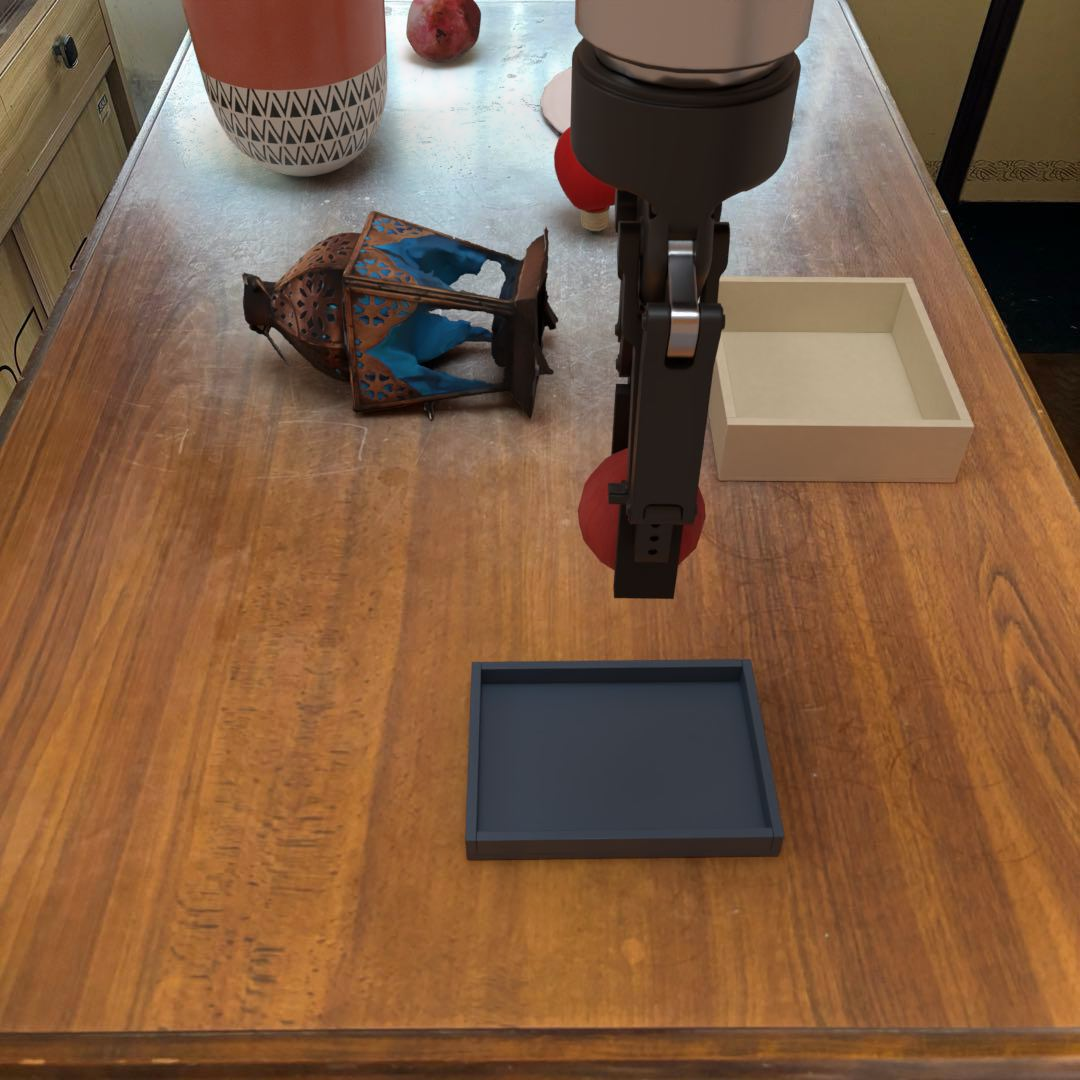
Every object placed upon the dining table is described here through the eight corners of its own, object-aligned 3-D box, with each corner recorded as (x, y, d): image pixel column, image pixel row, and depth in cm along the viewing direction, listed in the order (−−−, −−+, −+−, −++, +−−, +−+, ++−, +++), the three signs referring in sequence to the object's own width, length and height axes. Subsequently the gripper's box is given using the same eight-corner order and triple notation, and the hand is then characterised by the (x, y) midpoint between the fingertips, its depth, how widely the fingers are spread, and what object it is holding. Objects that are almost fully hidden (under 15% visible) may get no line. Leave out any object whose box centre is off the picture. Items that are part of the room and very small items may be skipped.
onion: (679, 520, 56) (695, 395, 50) (710, 604, 52) (731, 478, 46) (566, 534, 55) (570, 408, 50) (589, 620, 51) (596, 494, 46)
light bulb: (535, 225, 109) (535, 127, 102) (586, 201, 112) (589, 105, 105) (602, 262, 104) (607, 162, 97) (653, 236, 107) (661, 137, 100)
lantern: (549, 431, 96) (263, 410, 96) (563, 243, 95) (273, 221, 95) (552, 427, 80) (207, 402, 80) (568, 199, 79) (218, 173, 78)
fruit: (494, 49, 140) (492, -36, 132) (460, 77, 133) (456, -10, 126) (431, 37, 142) (425, -46, 135) (394, 65, 136) (386, -22, 129)
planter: (180, 188, 114) (125, -34, 99) (277, 111, 127) (241, -96, 111) (348, 223, 109) (317, -6, 94) (431, 139, 122) (416, -74, 107)
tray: (746, 679, 69) (751, 658, 68) (779, 856, 61) (785, 836, 59) (473, 682, 69) (471, 661, 68) (466, 860, 61) (464, 840, 59)
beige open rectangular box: (954, 482, 82) (974, 426, 78) (718, 480, 82) (727, 424, 79) (897, 331, 96) (912, 277, 92) (695, 329, 96) (702, 275, 92)
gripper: (570, -56, 43) (560, 414, 59) (574, 179, 29) (560, 701, 46) (765, -54, 43) (701, 416, 59) (857, 181, 29) (741, 703, 46)
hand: (639, 540), depth 52 cm, fingers closed on onion, 6 cm apart
